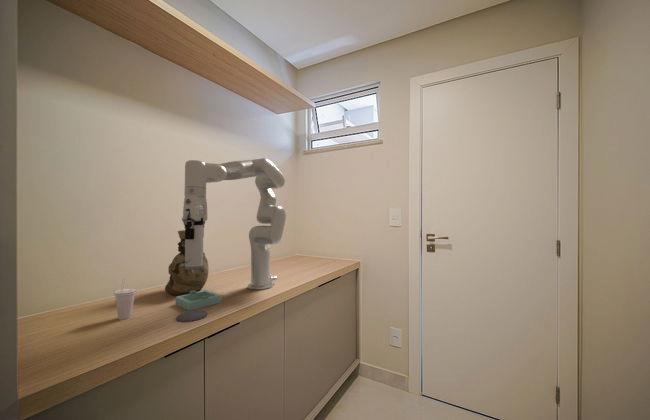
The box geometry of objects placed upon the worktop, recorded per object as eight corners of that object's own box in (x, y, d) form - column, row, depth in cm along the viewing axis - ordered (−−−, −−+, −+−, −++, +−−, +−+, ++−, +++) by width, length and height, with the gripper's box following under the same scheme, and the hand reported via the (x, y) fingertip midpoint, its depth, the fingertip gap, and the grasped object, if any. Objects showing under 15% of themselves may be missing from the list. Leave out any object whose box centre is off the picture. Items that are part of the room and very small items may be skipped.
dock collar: (206, 296, 118) (206, 287, 118) (221, 302, 109) (221, 292, 110) (175, 304, 108) (175, 294, 108) (189, 311, 99) (189, 300, 100)
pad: (200, 309, 101) (200, 307, 101) (212, 315, 95) (212, 313, 95) (172, 317, 93) (172, 315, 94) (183, 324, 87) (183, 322, 87)
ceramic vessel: (159, 300, 113) (160, 231, 114) (168, 288, 132) (169, 229, 133) (207, 295, 120) (207, 230, 121) (209, 284, 140) (209, 228, 140)
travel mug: (184, 270, 95) (185, 216, 96) (185, 267, 101) (185, 216, 102) (203, 269, 98) (203, 216, 99) (202, 266, 104) (203, 216, 105)
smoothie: (117, 315, 95) (117, 277, 95) (138, 313, 98) (138, 276, 98) (110, 322, 89) (111, 281, 90) (133, 319, 92) (133, 279, 92)
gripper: (192, 189, 92) (192, 240, 91) (214, 194, 109) (214, 237, 109) (172, 190, 92) (171, 240, 92) (197, 194, 109) (196, 237, 109)
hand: (194, 238), depth 100 cm, fingers closed on travel mug, 6 cm apart
